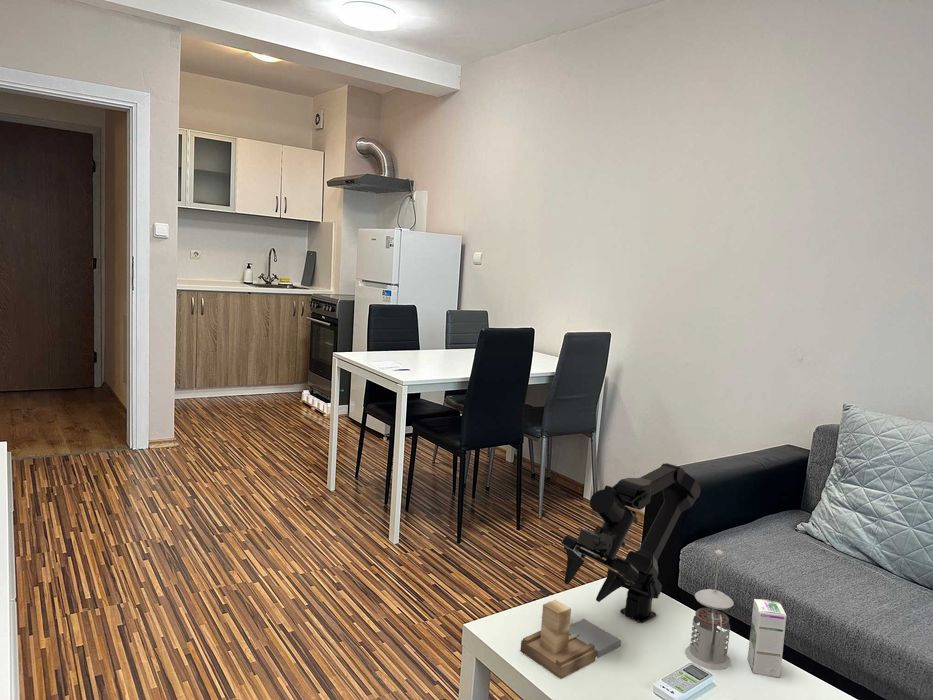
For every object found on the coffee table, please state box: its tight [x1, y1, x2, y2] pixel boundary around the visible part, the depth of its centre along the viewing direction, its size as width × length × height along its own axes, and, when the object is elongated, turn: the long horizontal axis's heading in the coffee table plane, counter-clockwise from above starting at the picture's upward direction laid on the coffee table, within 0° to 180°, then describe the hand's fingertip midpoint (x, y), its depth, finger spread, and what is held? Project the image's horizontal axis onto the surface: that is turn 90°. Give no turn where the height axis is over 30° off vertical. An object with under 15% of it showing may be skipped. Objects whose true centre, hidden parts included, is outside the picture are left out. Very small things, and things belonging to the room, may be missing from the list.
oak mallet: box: [540, 599, 580, 655], centre depth 147 cm, size 10×4×10 cm, turn 130°
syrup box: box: [747, 598, 787, 678], centre depth 146 cm, size 6×6×14 cm
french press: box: [684, 549, 735, 671], centre depth 148 cm, size 10×12×25 cm
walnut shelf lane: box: [520, 630, 597, 679], centre depth 147 cm, size 11×12×3 cm
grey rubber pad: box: [569, 618, 622, 658], centre depth 154 cm, size 8×11×2 cm
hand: (581, 592), depth 149 cm, fingers open, 9 cm apart
